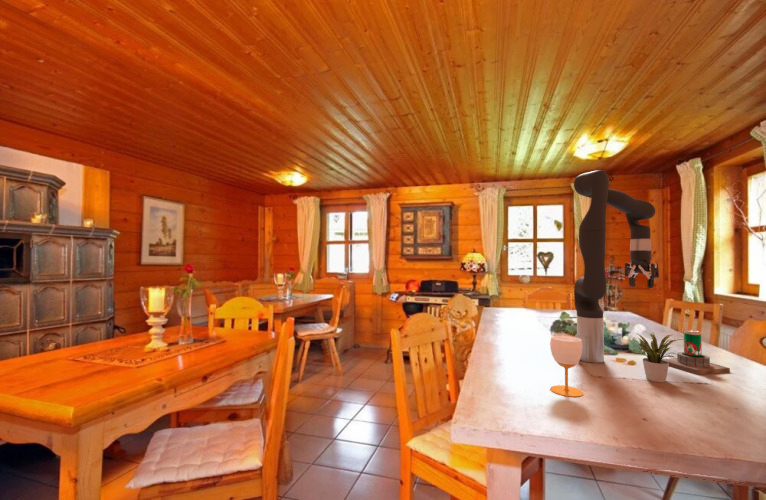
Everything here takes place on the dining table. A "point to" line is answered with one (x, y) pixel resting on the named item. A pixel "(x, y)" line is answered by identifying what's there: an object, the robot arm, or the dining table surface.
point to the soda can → (692, 343)
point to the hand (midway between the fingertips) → (641, 287)
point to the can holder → (696, 364)
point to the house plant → (656, 358)
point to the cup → (566, 361)
